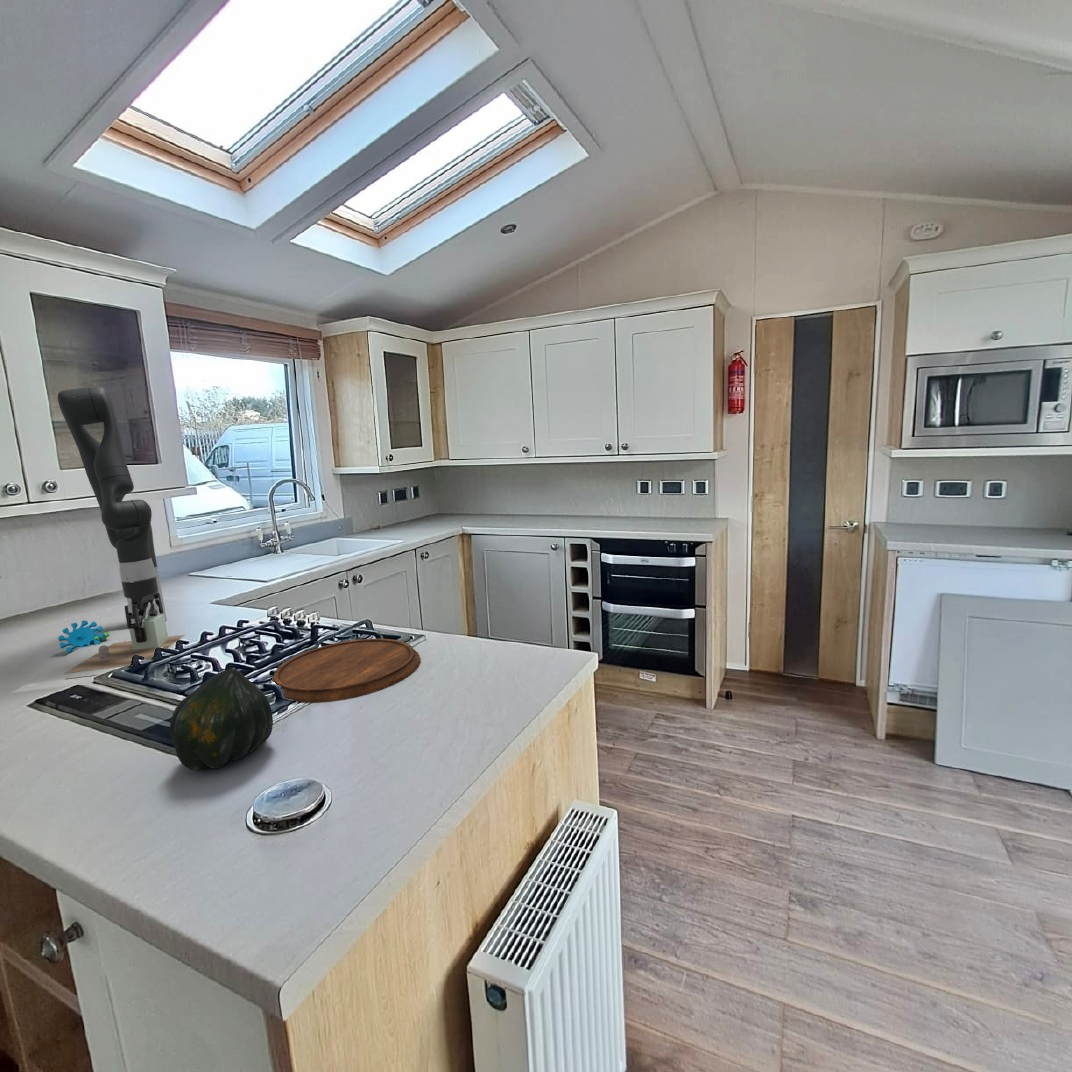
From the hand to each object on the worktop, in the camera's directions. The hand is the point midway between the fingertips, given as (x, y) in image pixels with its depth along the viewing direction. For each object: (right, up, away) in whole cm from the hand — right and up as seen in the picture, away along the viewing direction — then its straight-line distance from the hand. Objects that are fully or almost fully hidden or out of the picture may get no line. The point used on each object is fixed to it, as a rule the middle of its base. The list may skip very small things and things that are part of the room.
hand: (149, 636), depth 154 cm
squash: (+51, -10, -58) cm, 78 cm away
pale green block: (0, -2, 0) cm, 2 cm away
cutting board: (+60, -4, -24) cm, 65 cm away
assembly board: (-2, -5, -5) cm, 7 cm away
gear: (-21, -5, +5) cm, 22 cm away
